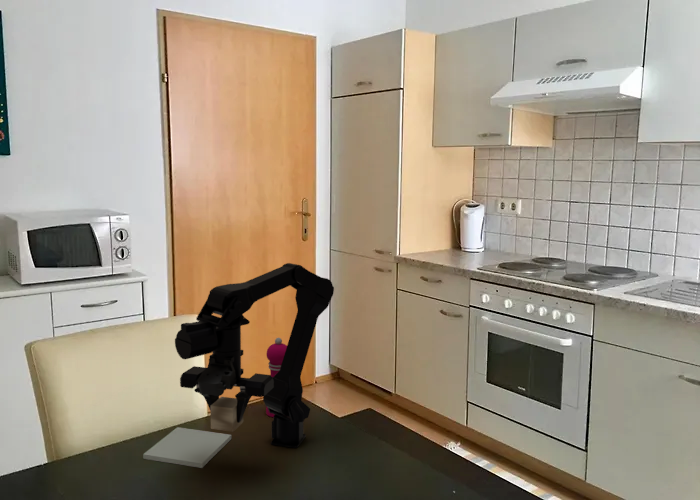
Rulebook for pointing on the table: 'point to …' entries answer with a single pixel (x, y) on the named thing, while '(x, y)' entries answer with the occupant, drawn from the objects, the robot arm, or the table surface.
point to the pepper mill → (275, 360)
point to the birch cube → (224, 414)
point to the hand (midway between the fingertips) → (227, 420)
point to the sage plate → (188, 447)
